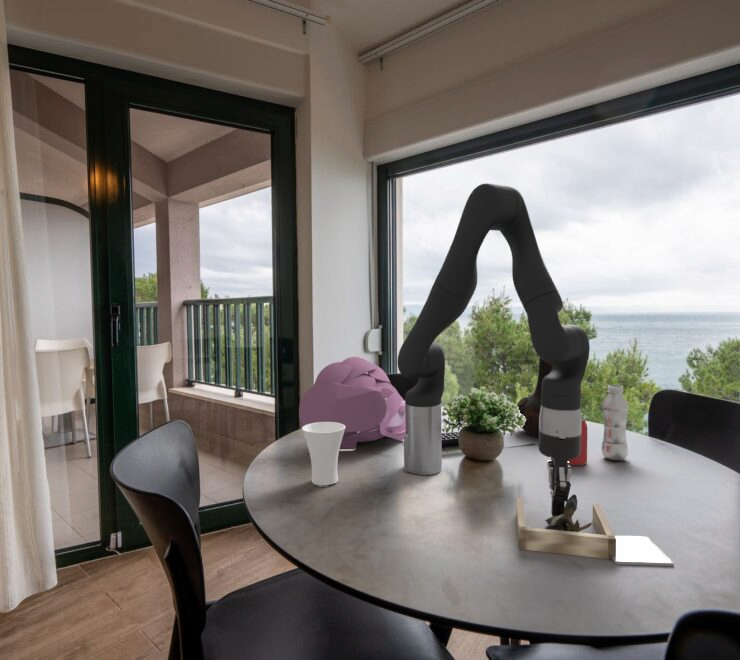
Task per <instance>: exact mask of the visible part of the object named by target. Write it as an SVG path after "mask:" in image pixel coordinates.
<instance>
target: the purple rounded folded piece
mask: <svg viewBox="0 0 740 660" xmlns="http://www.w3.org/2000/svg"><path fill="white" fill-rule="evenodd" d="M298 417H299V421H300V424H301V426H302V427H303V426H305V425H307V424H311V423H317V422H336V423H341V424H343V425H345V430H344V434H343V437H342V441H341V445H340V448H339V449H355V448H356V449H357V443H366V442H373V441H376V440H379V439H381V438H384V437H388V438H392V439H394V440H397V441H401V440H403V439H404V434H405V433H406V426H405V399H404V398H403V397H402V396H401V395H400V393H399V392H398V390H397V389H396V387H395V386H394V385H392V383H391V381H390V379H389V377H388V375H387V373H386V372H385V371H384V370H383V369H382V368H381V367H379V366H378V365H377V364H374V363H372V362H371V361H368V360H366V359H364V358H363V357H360V356H351V357H347V358H345V359H344V360H342V361H336V362H332V363H330V364H328V365H326V366H325V367H323V368H322V369H321V370H320V372H319V373H318V374H317V376H316V379H315V380H314V384H313V385H312V386H310V387H309V388H308V389H307V390H306V391H305V393H303V396H302V398H301V399H300V404H299V408H298ZM401 442H402V441H401Z"/></svg>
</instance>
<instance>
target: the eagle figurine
mask: <svg viewBox="0 0 740 660" xmlns="http://www.w3.org/2000/svg"><path fill="white" fill-rule="evenodd" d="M577 509H578V497H577V494H572V495H570V497H568V500H567V502H565V509H564V514H561V515H559V516H553V517H552V516H551V517H548V518H547V519H545V520H544V522H546V524H547V525H549V526H551V527H554V526H556V525H559V526H560V527H561V529H562V531H570V532H581V531H583V530H586V529H588V528H590V527H591V526H592V524H593V522H590V523H588V524H584V525H583V526H581V525H580V522H579V519H576V520H575V522H574V521H573V515H575V512H576V511H577Z"/></svg>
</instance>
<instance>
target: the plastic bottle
mask: <svg viewBox="0 0 740 660" xmlns="http://www.w3.org/2000/svg"><path fill="white" fill-rule="evenodd" d="M607 393H608V395H606V397H605V398H604V400H602V403H601V406H602V407H601V408H602V415H603V424H604V425H603V429H604V430H603V439H602V443H601V453H602V456H603V457H604V458H605V459H607V460H610V461H617V462H618V461H625V460H626V459H627V457H628V453H629V449H628V443H627V430H626V429H627V418H628V413H629V404H628V401H627V400H626V398H625V397H624V396H623V394H624V387H623V385H619V384H608V385H607Z"/></svg>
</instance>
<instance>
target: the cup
mask: <svg viewBox="0 0 740 660" xmlns="http://www.w3.org/2000/svg"><path fill="white" fill-rule="evenodd" d="M344 430H345V425H343V424H341V423H336V422H317V423H311V424H307V425H305V426H302V427H301V431H302V433H303V436H304V440H305V443H306V446H307V448H308V451H309V452H308V453H309V456H310V462H311V480H312V482H313V483H315V484H319V485H328V484H333V483H336V482H337V481H338V482H339V477H338V476H339V475H338V462H339V461H338V458H339V453H340V451H339V448H340V445H341V441H342V437H343V434H344ZM336 484H337V483H336Z"/></svg>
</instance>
